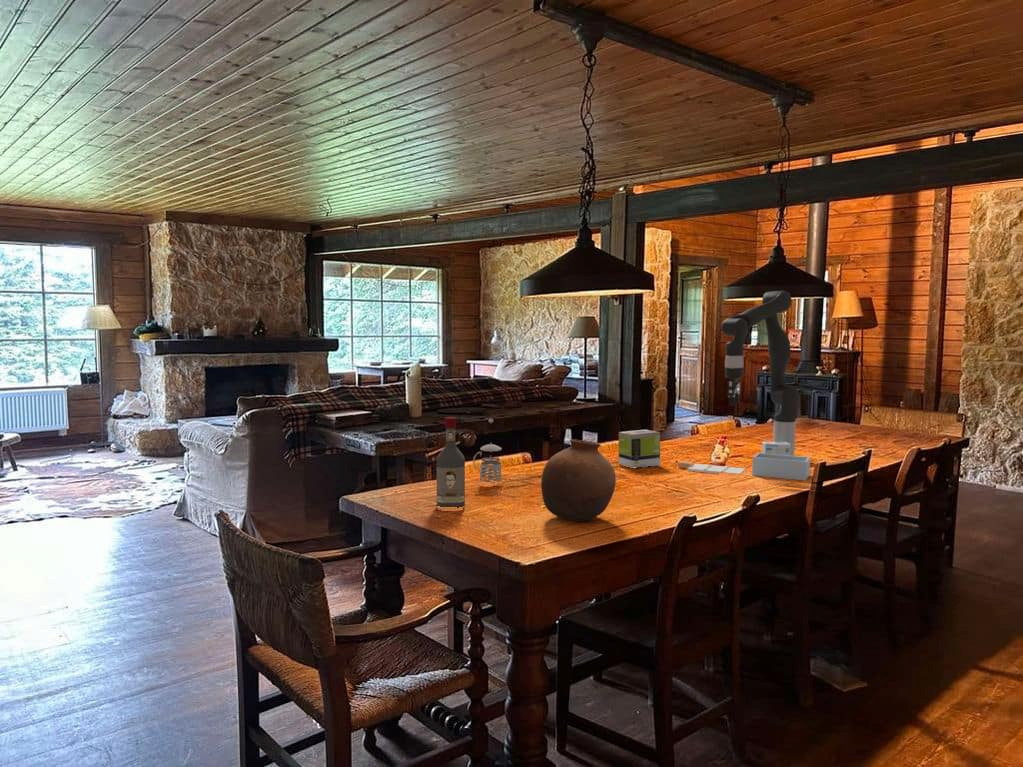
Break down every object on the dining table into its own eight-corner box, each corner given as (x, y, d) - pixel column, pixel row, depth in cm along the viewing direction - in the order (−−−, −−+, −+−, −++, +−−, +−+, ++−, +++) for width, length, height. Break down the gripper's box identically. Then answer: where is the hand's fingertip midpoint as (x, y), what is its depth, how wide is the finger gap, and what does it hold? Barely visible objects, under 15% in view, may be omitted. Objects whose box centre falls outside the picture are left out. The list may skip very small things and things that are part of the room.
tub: (757, 472, 305) (757, 452, 304) (809, 477, 295) (810, 457, 295) (752, 477, 295) (752, 457, 294) (806, 482, 286) (806, 461, 285)
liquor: (437, 505, 249) (436, 416, 247) (464, 504, 250) (464, 415, 247) (436, 512, 240) (436, 419, 237) (464, 511, 241) (464, 419, 238)
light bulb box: (786, 466, 318) (787, 441, 317) (790, 469, 311) (791, 444, 310) (760, 465, 319) (761, 440, 318) (764, 468, 312) (765, 443, 311)
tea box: (646, 462, 326) (647, 428, 325) (660, 466, 317) (661, 431, 316) (617, 465, 319) (618, 431, 318) (631, 469, 310) (631, 434, 309)
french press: (500, 488, 275) (500, 420, 273) (470, 486, 277) (470, 419, 275) (506, 482, 284) (506, 417, 282) (476, 481, 287) (476, 416, 284)
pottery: (530, 524, 226) (530, 442, 224) (556, 506, 247) (557, 432, 245) (602, 532, 217) (603, 448, 215) (623, 514, 238) (624, 436, 236)
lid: (683, 465, 320) (683, 459, 319) (745, 471, 307) (745, 465, 307) (675, 469, 309) (675, 464, 309) (739, 476, 297) (739, 470, 297)
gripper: (728, 365, 319) (728, 402, 321) (721, 367, 307) (721, 406, 308) (746, 365, 315) (746, 403, 317) (739, 367, 303) (739, 407, 305)
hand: (733, 404), depth 313 cm, fingers open, 8 cm apart
